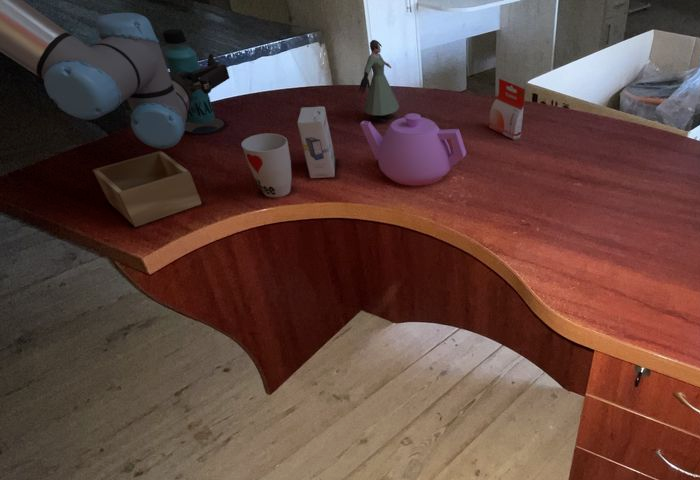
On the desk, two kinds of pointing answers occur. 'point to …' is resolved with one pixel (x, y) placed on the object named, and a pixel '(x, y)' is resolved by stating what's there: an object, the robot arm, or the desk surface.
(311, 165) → the ink box
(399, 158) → the teapot
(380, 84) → the character figurine
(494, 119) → the ink box
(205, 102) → the beverage bottle
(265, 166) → the cup
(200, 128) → the coaster
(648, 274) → the desk surface
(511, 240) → the desk surface
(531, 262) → the desk surface
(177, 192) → the crate
